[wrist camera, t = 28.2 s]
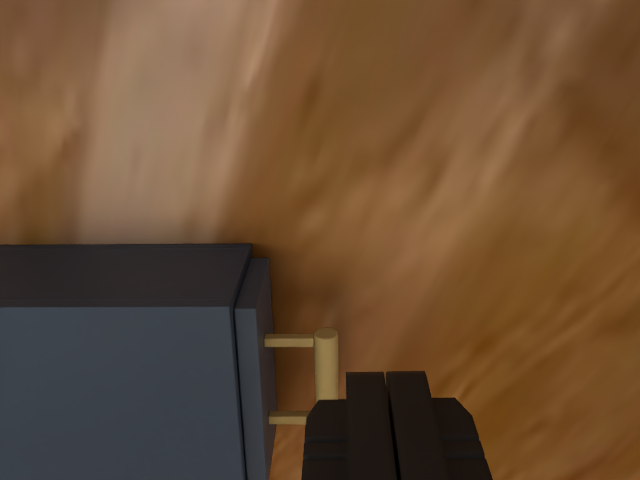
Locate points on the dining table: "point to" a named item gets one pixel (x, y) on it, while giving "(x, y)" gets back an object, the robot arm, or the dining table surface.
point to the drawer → (271, 368)
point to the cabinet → (120, 362)
